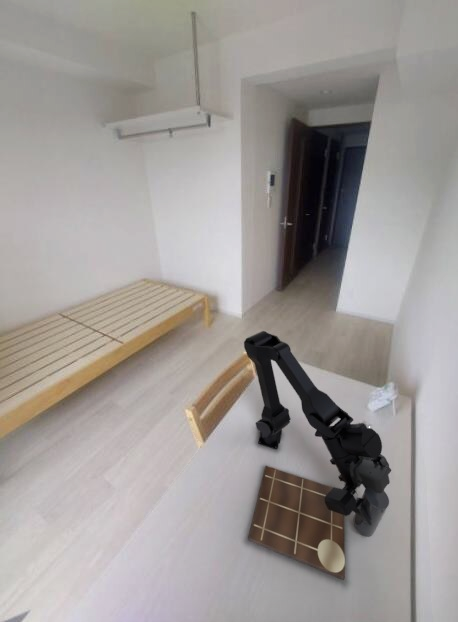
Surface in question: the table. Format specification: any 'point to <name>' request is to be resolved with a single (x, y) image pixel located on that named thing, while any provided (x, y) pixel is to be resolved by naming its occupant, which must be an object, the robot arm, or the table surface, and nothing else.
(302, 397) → the robot arm
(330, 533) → the board
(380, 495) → the dark grey cylinder
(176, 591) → the table surface
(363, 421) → the metal grooved wheel
